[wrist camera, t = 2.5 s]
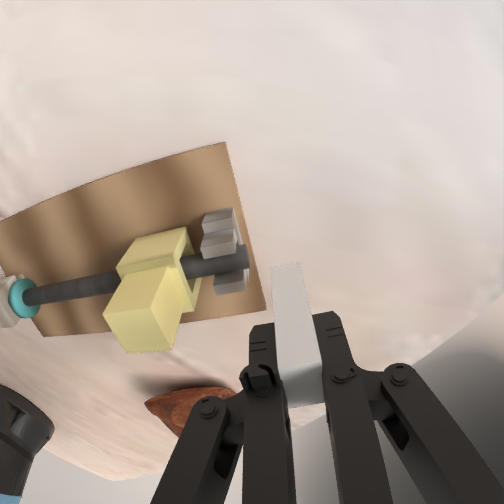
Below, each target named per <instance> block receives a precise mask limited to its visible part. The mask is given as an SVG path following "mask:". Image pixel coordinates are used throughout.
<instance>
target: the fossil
mask: <svg viewBox="0 0 504 504" xmlns="http://www.w3.org/2000/svg"><path fill="white" fill-rule="evenodd" d="M234 395H236V393H235V392H233V391H232V390H230V389H227V388H224V387H217V386H212V387H196V388H188V389H183V390H179V391H173V392H170V393H166V394H162V395H159V396H156V397H153V398H151V399H149V400H148V401H146V402H145V403H144V404H145V406H146V407H147V409H148V410H149V411H150V412H151V413H152V414H153V415H155V416H158V417H159V418H160V419H161V420H162V422H163V423H164V424H165V425H166V426H167V427H168V428H169V429H170V430H171V431H172V432H173V433H174V434H175V435H176V436H178V437H180V435H181V432H182V430H183V428H184V426H185V423H186V421H187V419H188V416H189V414H190V412H191V409H192V407H193V406H194V404H195V403H196V402H197V401H198V400H200V399H201V398H204V397H207V396H216V397H219V398H221V399H222V400H223V399H226V398H229V397H231V396H234Z"/></svg>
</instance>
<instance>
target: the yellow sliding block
mask: <svg viewBox="0 0 504 504" xmlns="http://www.w3.org/2000/svg"><path fill="white" fill-rule="evenodd" d="M192 254H195V253H194V250H193V247H192V244H191V241H190V238H189V235H188V232H187V229H186V227H181V228H177V229H173V230H168V231H164V232H160V233H155V234H151V235H147V236H143V237H139V238H136V239H135V240H134V242H133V243H132V245H131V246H130V247H129V249H128V250H127V252H126V253H125V255H124V256H123V257H122V259H121V260H120V262H119V263H118V265H117V266H116V270H117V272H118V274H119V276H120V278H121V280H122V281H121V283H120V285H119V286H118V288H117V290H116V291H115V293H114V295H113V297H112V298H111V300H110V302H109V303H108V305H107V307H106V309H105V311H104V312H103V314H102V315H103V317H104V318H105V320H106V322H107V323H108V325H109V327H110V328H111V330H112V332H113V333H114V335H115V337H116V338H117V340H118V341H119V343H120V345H121V346H122V348H123V349H124V351H125V352H126V354H129V353H143V352H155V351H166V350H172V348H173V344H174V341H175V337H176V333H177V329H178V326H179V322H180V318H181V315H182V313H186V312H192V311H194V310H195V306H196V302H197V297H198V293H199V289H200V285H201V281H202V277H200V278H195V279H189V280H186V277H185V274H184V272H183V269H182V266H181V264H180V261H179V260H180V257H182V256H187V255H192Z"/></svg>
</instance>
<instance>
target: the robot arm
mask: <svg viewBox="0 0 504 504" xmlns="http://www.w3.org/2000/svg"><path fill="white" fill-rule="evenodd" d="M270 273H271V285H272V297H273V310H274V323H268V324H262V325H256V326H254V327H253V329H252V331H251V332H250V334H249V365H248V366H246V367H245V368H244V369H243V370H242V372H241V373H240V377H239V379H240V382H241V384H242V386H243V390H242V391H241V392H239V393H238V394H236V395H234V396H231V397H229V398H226V399H223V400H222V399H221V398H219V397H216V396H207V397H204V398H201V399H200V400H198V401H197V402H196V403H195V404H194V406H193V407H192V409H191V412H190V414H189V416H188V419H187V421H186V423H185V426H184V428H183V430H182V432H181V435H180V437H179V439H178V442H177V444H176V446H175V448H174V451H173V453H172V455H171V457H170V460H169V462H168V464H167V467H166V469H165V471H164V473H163V476H162V478H161V480H160V482H159V485H158V487H157V489H156V491H155V494H154V496H153V498H152V501H151V503H150V504H224V501H225V498H226V495H227V492H228V489H229V486H230V483H231V480H232V477H233V474H234V471H235V468H236V465H237V461H238V458H239V455H240V452H241V449H242V446H243V487H242V504H297V503H296V489H295V475H294V462H293V449H292V437H291V425H290V418H289V414H288V408H295V407H301V406H307V405H313V404H318V403H324V402H325V405H326V416H327V423H328V427H329V433H330V439H331V445H332V452H333V459H334V466H335V473H336V480H337V487H338V495H339V501H340V504H393V501H392V496H391V491H390V487H389V482H388V477H387V473H386V469H385V464H384V460H383V456H382V452H381V448H380V443H379V439H378V436H377V432H376V428H375V424H374V420H377V421H378V423H379V425H380V426H381V428H382V430H383V431H384V433H385V435H386V436H387V438H388V440H389V441H390V443H391V445H392V446H393V448H394V449H395V451H396V453H397V454H398V456H399V458H400V459H401V461H402V463H403V464H404V466H405V468H406V469H407V471H408V473H409V474H410V476H411V478H412V479H413V481H414V483H415V485H416V486H417V488H418V489H419V491H420V493H421V495H422V496H423V498H424V500H425V501H426V503H427V504H504V489H503V487H502V486H501V485H500V483H499V481H498V480H497V479H496V477H495V476H494V474H493V473H492V471H491V470H490V468H489V467H488V466H487V464H486V463H485V461H484V460H483V458H482V457H481V456H480V454H479V453H478V452H477V450H476V449H475V448H474V446H473V445H472V443H471V442H470V441H469V439H468V438H467V436H466V435H465V434H464V432H463V431H462V430H461V428H460V427H459V426H458V424H457V423H456V422H455V420H454V419H453V418H452V417H451V415H450V414H449V413H448V411H447V410H446V409H445V407H444V406H443V405H442V404H441V402H440V401H439V400H438V398H437V397H436V396H435V395H434V393H433V392H432V391H431V390H430V388H429V387H428V386H427V384H426V383H425V382H424V381H423V379H422V378H421V377H420V376H419V374H418V373H417V372H416V371H415V369H413V368H412V367H411V366H410V365H407V364H404V363H396V364H392V365H390V366H388V367H387V368H386V369H385V370H384V372H377V371H367V370H364V369H361V368H360V367H358V366H357V365H356V364H355V362H354V360H353V358H352V354H351V351H350V348H349V345H348V341H347V338H346V335H345V332H344V329H343V326H342V323H341V319H340V317H339V316H338V315H337V314H336V313H335V312H333V311H330V312H325V313H320V314H314V315H312V314H311V310H310V305H309V301H308V297H307V292H306V288H305V284H304V280H303V276H302V271H301V267H300V263H299V262H296V263H291V264H285V265H280V266H275V267H270ZM54 430H55V428H54V425H53V423H52V422H51V421H50V420H49V418H48V417H47V416H46V415H45V414H44V413H43V412H42V411H40V410H39V409H38V408H37V407H36V406H34V405H33V404H32V403H31V402H29V401H28V400H26V399H25V398H24V397H22V396H21V395H19V394H17V393H16V392H14V391H12V390H10V389H8V388H6V387H4V386H1V385H0V504H19V501H20V499H21V498H22V493H23V489H24V486H25V483H26V480H27V477H28V474H29V471H30V468H31V465H32V462H33V459H34V457H35V455H36V454H37V453H38V452H39V451H40V450H41V448H42V447H43V446H44V445H45V444H46V443H47V442H48V441H49V440H50V439H51V437H52V435H53V432H54Z"/></svg>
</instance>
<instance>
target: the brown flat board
mask: <svg viewBox="0 0 504 504" xmlns="http://www.w3.org/2000/svg"><path fill="white" fill-rule="evenodd" d="M181 227H186V229H187V232H188V235H189V238H190V241H191V244H192V247H193V250H194V253H195V254H192V255H187V256H182V257H180V260H179V261H180V264H181V266H182V269H183V272H184V274H185V277H186V280H189V279H195V278H200V277H202V281H201V285H200V289H199V293H198V297H197V302H196V306H195V310H194V311H192V312H186V313H182V315H181V318H180V322H179V324H180V323H187V322H194V321H201V320H208V319H215V318H221V317H228V316H234V315H240V314H246V313H252V312H258V311H264V310H266V303H265V299H264V295H263V291H262V287H261V283H260V279H259V275H258V271H257V267H256V263H255V259H254V255H253V251H252V247H251V243H250V239H249V235H248V231H247V227H246V223H245V218H244V214H243V210H242V206H241V202H240V198H239V194H238V190H237V186H236V182H235V178H234V174H233V170H232V166H231V162H230V158H229V154H228V150H227V146H226V142H222V143H218V144H214V145H210V146H206V147H202V148H198V149H194V150H191V151H187V152H183V153H180V154H176V155H173V156H169V157H166V158H162V159H159V160H156V161H152V162H149V163H146V164H143V165H140V166H136V167H133V168H130V169H127V170H124V171H121V172H118V173H115V174H113V175H110V176H107V177H104V178H101V179H99V180H96V181H93V182H90V183H88V184H85V185H83V186H80V187H77V188H75V189H72V190H70V191H67V192H65V193H62V194H60V195H57V196H55V197H53V198H50V199H48V200H46V201H43V202H41V203H39V204H37V205H34V206H32V207H30V208H28V209H25V210H23V211H21V212H19V213H17V214H15V215H13V216H11V217H9V218H7V219H4V220H2V221H0V265H1V267H2V269H3V271H4V273H5V275H6V276H7V277H5V278H2V279H0V328H6V327H14V326H15V325H16V324H17V322H18V321H19V320H20V318H31V319H32V321H33V322H34V324H35V325H36V327H37V328H38V330H39V331H40V333H41V334H42V336H43V337H49V336H64V335H77V334H89V333H100V332H111V331H112V330H111V328H110V327H109V325H108V323H107V322H106V320H105V318H104V317H103V315H102V314H103V312H104V311H105V309H106V307H107V305H108V303H109V302H110V300H111V298H112V297H113V295H114V293H115V291H116V290H117V288H118V286H119V285H120V283H121V281H122V280H121V278H120V276H119V274H118V272H117V270H116V266H117V265H118V263H119V262H120V260H121V259H122V257H123V256H124V255H125V253H126V252H127V250H128V249H129V247H130V246H131V245H132V243H133V242H134V240H135V239H136V238H139V237H143V236H147V235H151V234H155V233H160V232H164V231H168V230H173V229H177V228H181Z"/></svg>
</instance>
